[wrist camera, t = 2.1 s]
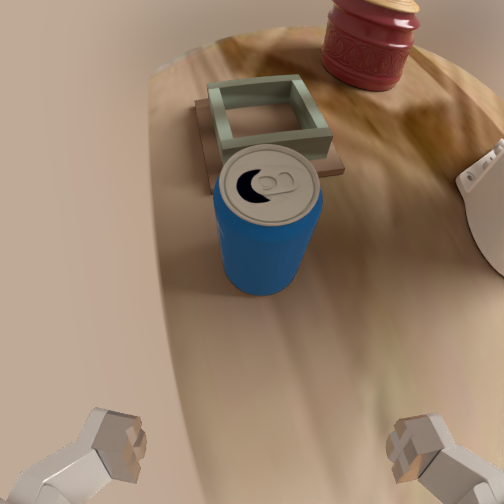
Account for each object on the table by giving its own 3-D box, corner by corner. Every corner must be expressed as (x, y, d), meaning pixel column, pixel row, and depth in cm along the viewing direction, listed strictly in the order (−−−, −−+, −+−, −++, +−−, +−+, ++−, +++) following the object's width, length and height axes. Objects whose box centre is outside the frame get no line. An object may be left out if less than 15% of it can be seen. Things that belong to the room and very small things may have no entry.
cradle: (195, 106, 37) (191, 78, 33) (302, 93, 38) (306, 66, 34) (211, 194, 31) (207, 165, 27) (342, 173, 33) (353, 146, 29)
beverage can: (217, 238, 29) (203, 148, 18) (285, 224, 30) (305, 133, 19) (232, 305, 27) (223, 243, 16) (305, 288, 28) (344, 219, 17)
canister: (412, 94, 40) (450, 2, 24) (341, 94, 39) (370, -19, 23) (373, 50, 46) (395, -32, 29) (306, 48, 44) (320, -45, 28)
